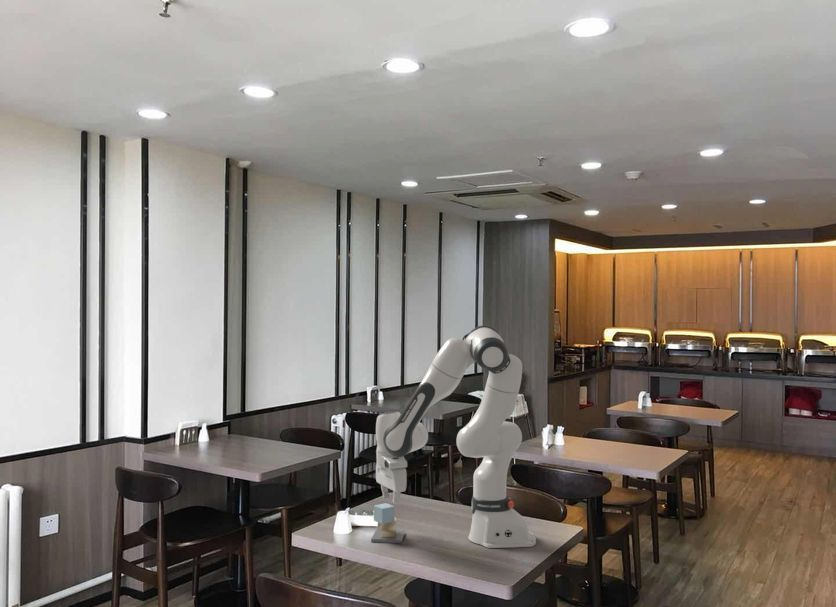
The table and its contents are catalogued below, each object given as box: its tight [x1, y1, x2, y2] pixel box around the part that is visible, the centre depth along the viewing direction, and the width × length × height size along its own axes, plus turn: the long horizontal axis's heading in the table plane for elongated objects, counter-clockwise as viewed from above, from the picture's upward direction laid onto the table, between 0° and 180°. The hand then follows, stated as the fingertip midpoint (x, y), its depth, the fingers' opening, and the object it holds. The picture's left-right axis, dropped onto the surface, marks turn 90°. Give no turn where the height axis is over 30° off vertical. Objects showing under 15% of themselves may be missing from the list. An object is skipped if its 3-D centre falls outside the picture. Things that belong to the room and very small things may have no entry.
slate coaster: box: [370, 529, 406, 544], centre depth 228 cm, size 10×10×1 cm
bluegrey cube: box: [373, 502, 396, 525], centre depth 227 cm, size 5×5×5 cm
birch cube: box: [380, 517, 397, 537], centre depth 228 cm, size 5×5×5 cm
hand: (390, 500), depth 228 cm, fingers open, 8 cm apart
